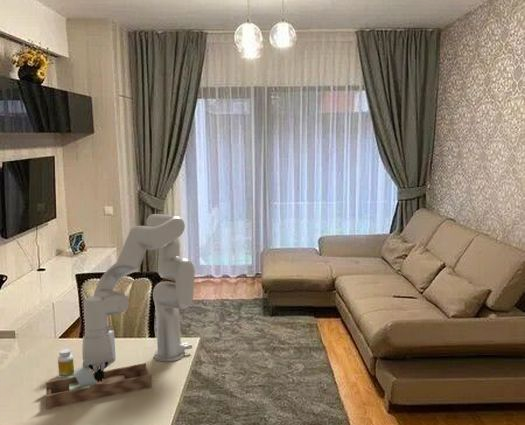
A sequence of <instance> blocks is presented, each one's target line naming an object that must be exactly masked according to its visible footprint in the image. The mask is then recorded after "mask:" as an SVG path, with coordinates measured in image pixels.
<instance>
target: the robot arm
mask: <svg viewBox="0 0 525 425" xmlns="http://www.w3.org/2000/svg"><path fill="white" fill-rule="evenodd" d="M185 228H186V225H185V220H184V219H183V218H181V217H180V216H178V215H170V214H163V213H162V214H161V213H153V214H150V215H149V216H148V217H147V219H146V225H135V226H133V227H131V229H130V230H129V232H128V235H127V237H126V239H125V242H124V245H123V247H122V249H121V251H120V254H119V256H118V259H117V260H116V261H115V263H114V264H113V265H111V266H110V267H108V269H107V270H106V271H105V272H104V273H103V274H102V276H101V277H100V278H99V280H98V283H97V284H96V287H95V290H94V293H93V296H89V297H87V298H85V299H84V301H83V311H84V312H83V313H84V314H83V315H84V316H83V317H84V330H85V333H84V334H85V335H82V336H83V338H82V345H81V346H82V351H81V352H82V367H83V368H88V367H89V368H90V370H91V371H93V373H95V380H96V379H97V382H102V378H104V371H105V369H106V368H107V367H108V366H109V365H108V364H110V365H111V364H113V363H114V362H115V361H114V359H113V347H112V340H111V335H110V332H109V331H110V330H111V331H113V326H112V325H108V316H111V315H112V316H113V315H118V314H119V315H120V314H122V313H124V312H125V311H126V310H127V309H128V308H129V305H130V299H129V297H128V295H127V294H125V293H122V292H118V291H116V290H115V291H114V288H115V286H116V284H117V283H118V282H119V281H120V280H121V279H122V278H125V277H126V276H128V275H130V274H133V273H135V272H137V271H138V270H140V267H141V265H142V263H143V260H144V257H145V254H146V253H147V251H148V250H152V251H156V250H158V254H157V255H158V260H157V273H158V275H159V276H160V278H163V279H166V280H169V281H161V282H158V283H156V285H155V286H154V288H153V290H152V299H153V302H154V306H155V315H156V316H155V318H156V341H157V342H156V344H157V346H156V347H157V350H155V351H154V354H153V359H155V360H156V361H159V362H161V363H162V362H163V363H164V362H165V363H167V362H175V361H178V360H181V359H182V358H183V357H184V356H185V350H190V349H193V345H192V343H190V344H188V342H184V343H182V342H181V318H180V317H181V316H180V310H185V309H188V308H189V307H190V306H191V305H192V303H193V300H194V293H195V274H196V273H195V272H196V271H195V265H194V264H193V262H192V260H190V259H187V258H185V257H181V256H180V247H181V246H180V239H179V238H180V237H181V236H182V235H183V233H184V231H185ZM171 281H175V282H171ZM98 363H100V366H96V364H98ZM107 365H108V366H107ZM106 366H107V367H106ZM98 367H99V368H98ZM99 379H100V380H99Z"/></svg>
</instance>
